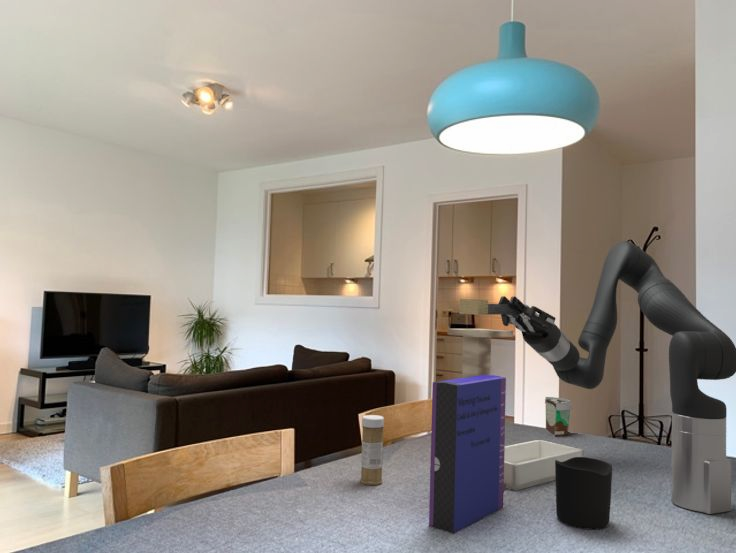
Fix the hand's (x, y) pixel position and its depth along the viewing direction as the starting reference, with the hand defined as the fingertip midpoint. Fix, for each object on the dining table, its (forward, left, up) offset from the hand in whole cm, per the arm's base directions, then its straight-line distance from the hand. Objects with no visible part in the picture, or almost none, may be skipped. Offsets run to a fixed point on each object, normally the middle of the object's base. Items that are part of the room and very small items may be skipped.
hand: (506, 300), depth 129 cm
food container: (+34, -47, -39) cm, 70 cm away
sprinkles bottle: (+7, +27, -39) cm, 48 cm away
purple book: (-16, +19, -39) cm, 46 cm away
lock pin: (-1, +3, -3) cm, 5 cm away
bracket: (-2, +8, -38) cm, 39 cm away
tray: (+2, -9, -38) cm, 39 cm away
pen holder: (-25, +1, -39) cm, 46 cm away
